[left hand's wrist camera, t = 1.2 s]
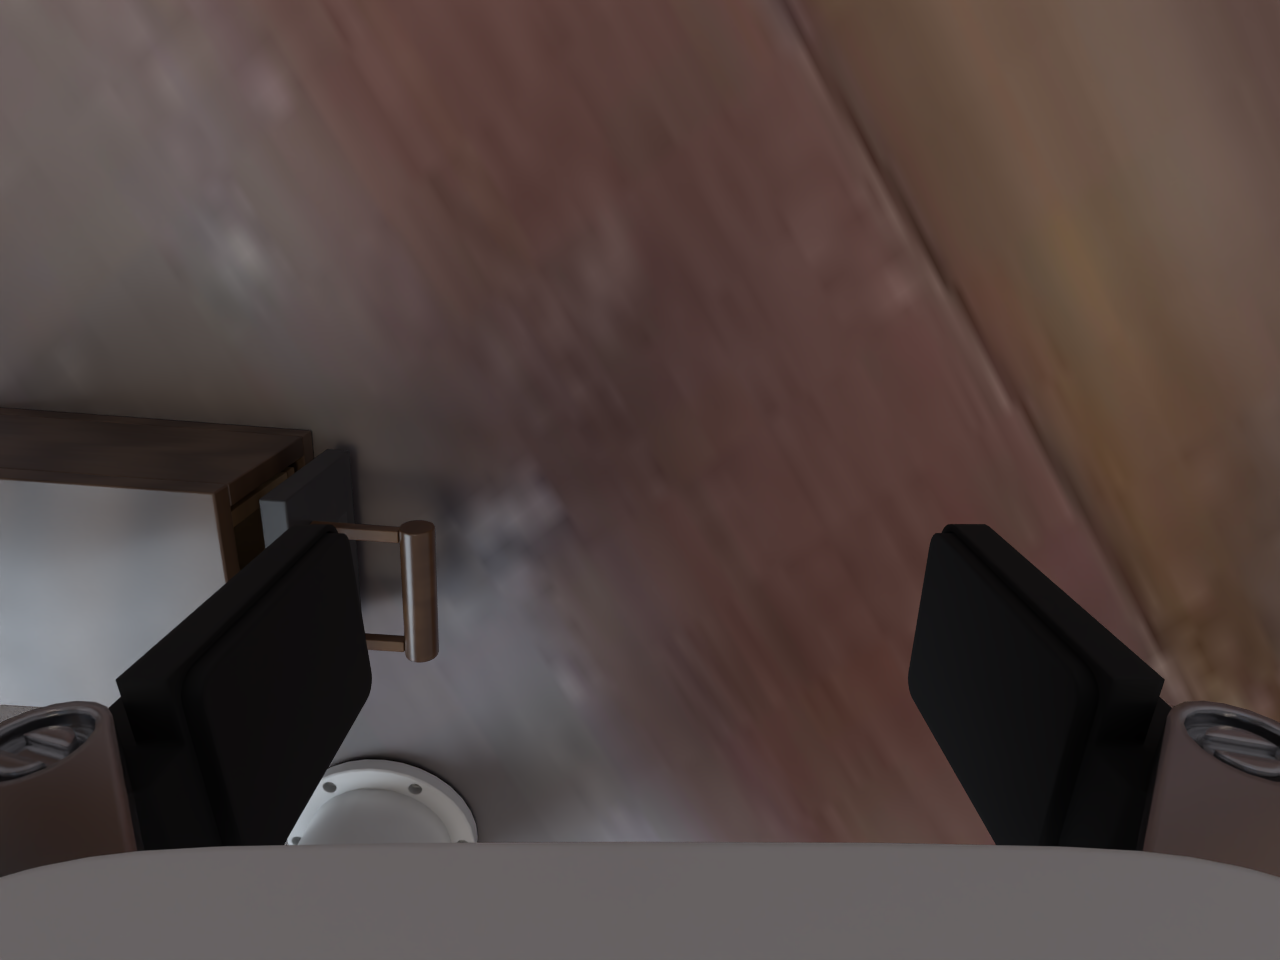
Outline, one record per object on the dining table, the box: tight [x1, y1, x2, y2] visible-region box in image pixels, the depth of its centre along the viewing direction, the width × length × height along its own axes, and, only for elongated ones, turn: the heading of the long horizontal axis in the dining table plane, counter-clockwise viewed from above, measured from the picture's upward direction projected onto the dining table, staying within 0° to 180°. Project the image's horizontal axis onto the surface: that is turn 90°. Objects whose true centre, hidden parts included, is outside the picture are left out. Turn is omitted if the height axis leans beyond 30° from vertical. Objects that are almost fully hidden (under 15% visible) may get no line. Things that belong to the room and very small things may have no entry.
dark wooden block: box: [0, 408, 314, 708], centre depth 34 cm, size 17×12×9 cm
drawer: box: [231, 449, 439, 662], centre depth 35 cm, size 22×11×7 cm, turn 86°
